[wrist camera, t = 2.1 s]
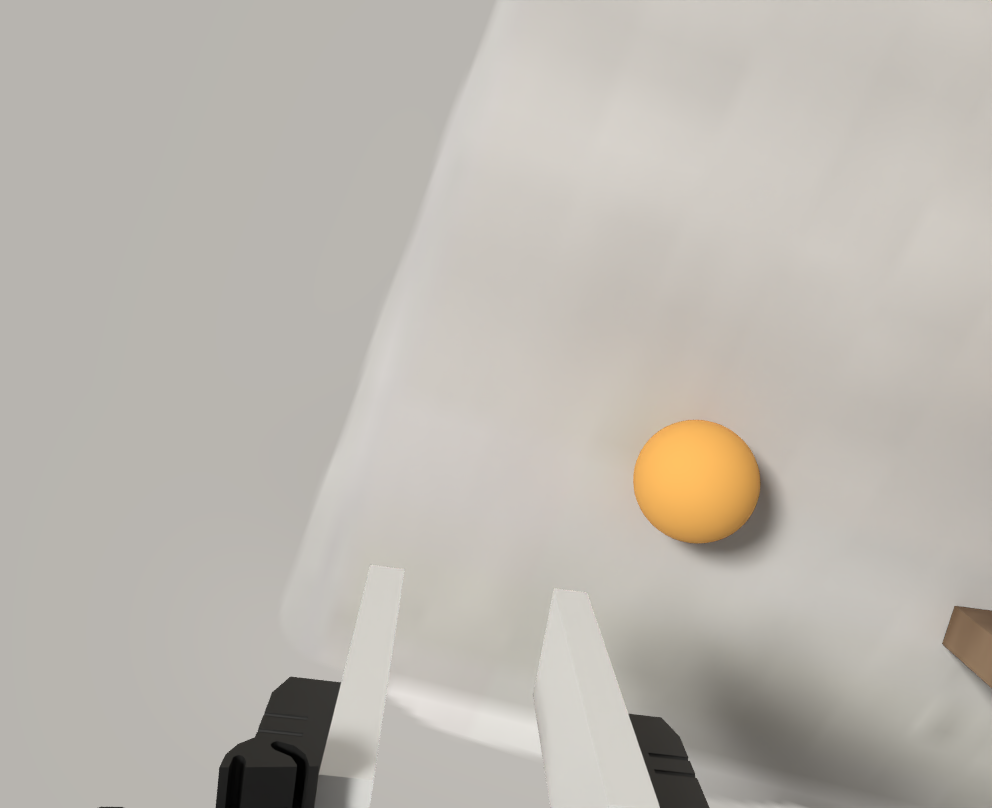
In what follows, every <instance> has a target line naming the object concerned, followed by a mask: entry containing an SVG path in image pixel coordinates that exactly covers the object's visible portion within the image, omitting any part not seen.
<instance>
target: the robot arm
mask: <svg viewBox="0 0 992 808" xmlns="http://www.w3.org/2000/svg"><path fill="white" fill-rule="evenodd" d="M404 571H405V569H401V568H393V567H385V566H378V565H370V568H369V572H368V576H367V580H366V584H365V588H364V592H363V596H362V601H361V605H360V609H359V613H358V617H357V621H356V625H355V629H354V633H353V637H352V641H351V645H350V649H349V653H348V657H347V661H346V665H345V669H344V673H343V678H342V682H332V681H323V680H314V679H306V678H297V677H289V678H288V679H287V680H286V681H285V682H284V683H283V684H281V685H280V686H279V687H278V688H277V689H276V690H275V691H274V692H272V695H271V697H270V700H269V703H268V705H267V708H266V711H265V714H264V716H263V718H262V721H261V723H260V726H259V729H258V732H257V734H256V736H255V738H252V739H250V740H247V741H245V742H242V743H240V744H238V745H237V746H235V747H234V748H233V749H232V750H230V751H229V753H227V754H226V755H225V757H224V759H223V761H222V763H221V765H220V768H219V779H218V789H217V800H216V808H370V801H371V795H372V788H373V781H374V774H375V768H376V761H377V754H378V747H379V741H380V734H381V727H382V720H383V714H384V707H385V700H386V693H387V687H388V680H389V673H390V666H391V659H392V653H393V646H394V639H395V632H396V626H397V619H398V612H399V605H400V598H401V592H402V585H403V578H404ZM533 699H534V705H535V711H536V718H537V724H538V731H539V737H540V744H541V750H542V757H543V763H544V769H545V776H546V782H547V788H548V795H549V802H550V808H709V806H708V803H707V801H706V799H705V796H704V794H703V791H702V789H701V787H700V784H699V782H698V780H697V778H695V772H694V770H693V768H692V765H691V763H690V761H688V756H687V753H686V751H685V749H684V746H683V744H682V742H681V739H680V737H679V736H678V735H677V734H676V733H675V732H674V730H673V729H672V728H671V727H670V726H669V725H668V724H667V723H666V722H665V721H664V720H663V719H662V718H660V717H651V716H643V715H634V714H628V712H627V709H626V706H625V703H624V700H623V697H622V694H621V691H620V688H619V685H618V682H617V679H616V676H615V673H614V670H613V667H612V664H611V661H610V658H609V655H608V653H607V650H606V647H605V644H604V641H603V638H602V635H601V632H600V629H599V626H598V623H597V620H596V617H595V614H594V611H593V608H592V605H591V602H590V599H589V596H588V593H587V592H579V591H572V590H564V589H556V588H554V591H553V596H552V601H551V606H550V611H549V616H548V621H547V626H546V632H545V637H544V642H543V647H542V652H541V657H540V662H539V667H538V672H537V677H536V682H535V687H534V692H533ZM99 808H123V807H99Z"/></svg>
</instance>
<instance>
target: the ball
mask: <svg viewBox="0 0 992 808" xmlns="http://www.w3.org/2000/svg"><path fill="white" fill-rule="evenodd" d="M633 483H634V492H635V496H636V499H637V502H638V504H639V506H640V509H641V511H642V512H643V514H644V515H645V517H646V518H647V519H648V520H649V521H650V523H651V524H652V525H653V526H654V527H656V528H657V529H658V530H659V531H661V532H662V533H664V534H665V535H667V536H669V537H671V538H673V539H676V540H679V541H683V542H688V543H709V542H714V541H717V540H721V539H723V538H725V537H728V536H729V535H731V534H733V533H734V532H736V531H737V530H738V529H739V528H741V527H742V526H743V525H744V524H745V522H746V521H747V520H748V519H749V517H750V516H751V514H752V513H753V511H754V509H755V507H756V504H757V501H758V498H759V493H760V473H759V469H758V465H757V462H756V460H755V457H754V455H753V453H752V452H751V450H750V448H749V447H748V446H747V444H746V443H745V442H744V441H743V440H742V439H741V438H740V437H739V436H738V435H737V434H735V433H734V432H733V431H731V430H729V429H728V428H726V427H724V426H722V425H720V424H717V423H714V422H709V421H704V420H687V421H681V422H677V423H674V424H671V425H669V426H667V427H665V428H663V429H662V430H660V431H658V432H657V433H656V434H655V435H653V436H652V437H651V438H650V439H649V440H648V442H647V443H646V444H645V445H644V447H643V449H642V450H641V452H640V454H639V456H638V459H637V461H636V465H635V468H634V479H633Z"/></svg>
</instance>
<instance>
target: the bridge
mask: <svg viewBox="0 0 992 808" xmlns="http://www.w3.org/2000/svg"><path fill="white" fill-rule="evenodd" d="M942 644H943V645H944V646H945V647H946V648H947V649H949V650H950V651H951V652H952V653H953V654H954V655H955V656H956V657H958V658H959V659H960V660H961V661H962V662H963V663H964V664H965V665H966V666H968V667H969V668H970V669H971V670H972V671H973V672H974V673H975V674H977V675H978V676H979V677H980V678H981V679H982V680H983V681H984V682H985V683H987V684H988V685H989V686H990V687H991V688H992V611H990V610H982V609H974V608H967V607H959V606H955V607H954V610H953V613H952V616H951V619H950V622H949V625H948V628H947V631H946V634H945V637H944V640H943V643H942Z"/></svg>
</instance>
